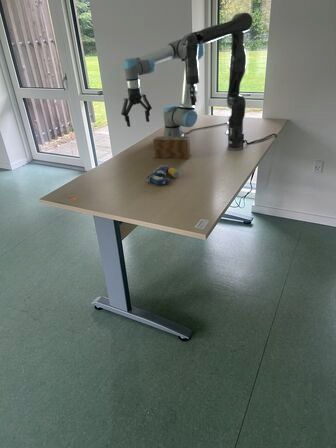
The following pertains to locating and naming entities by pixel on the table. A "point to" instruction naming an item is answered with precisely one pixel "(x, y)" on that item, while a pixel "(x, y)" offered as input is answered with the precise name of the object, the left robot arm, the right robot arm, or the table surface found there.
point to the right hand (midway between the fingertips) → (194, 103)
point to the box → (172, 147)
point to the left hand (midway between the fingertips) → (138, 124)
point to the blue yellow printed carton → (162, 175)
